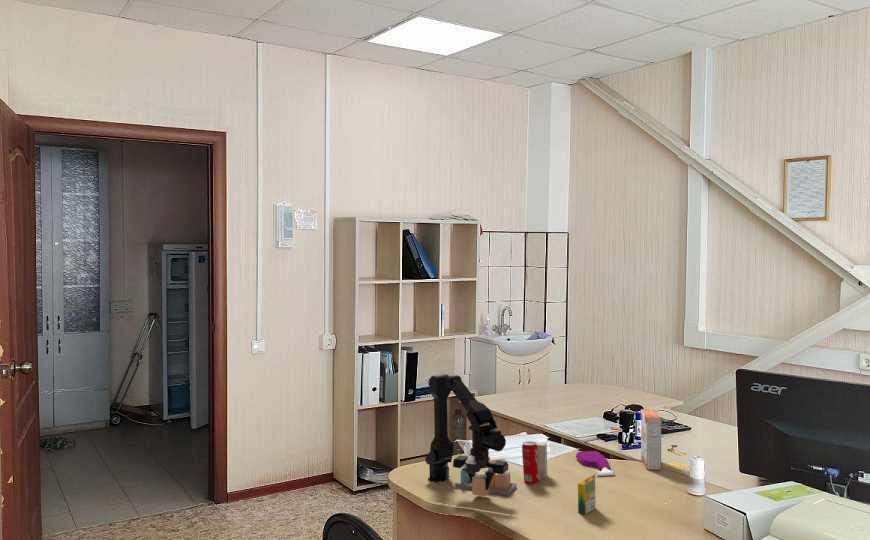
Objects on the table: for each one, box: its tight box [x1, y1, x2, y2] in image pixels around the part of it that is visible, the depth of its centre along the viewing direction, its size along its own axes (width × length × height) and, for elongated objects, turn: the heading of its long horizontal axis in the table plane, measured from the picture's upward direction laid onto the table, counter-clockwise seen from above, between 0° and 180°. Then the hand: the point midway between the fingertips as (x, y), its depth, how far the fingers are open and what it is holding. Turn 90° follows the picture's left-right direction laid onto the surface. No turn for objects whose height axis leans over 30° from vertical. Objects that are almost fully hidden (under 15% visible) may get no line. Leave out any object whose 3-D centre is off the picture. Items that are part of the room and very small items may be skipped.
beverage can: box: [521, 441, 541, 486], centre depth 257 cm, size 6×6×15 cm
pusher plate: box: [460, 467, 470, 484], centre depth 255 cm, size 1×6×6 cm, turn 154°
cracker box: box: [640, 408, 662, 471], centre depth 277 cm, size 14×6×21 cm, turn 172°
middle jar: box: [482, 468, 496, 488], centre depth 250 cm, size 4×4×7 cm
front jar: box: [494, 470, 511, 490], centre depth 248 cm, size 4×4×7 cm
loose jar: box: [471, 471, 490, 497], centre depth 241 cm, size 4×4×7 cm
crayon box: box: [577, 473, 597, 516], centre depth 230 cm, size 7×3×12 cm, turn 141°
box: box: [535, 441, 548, 479], centre depth 264 cm, size 5×4×13 cm
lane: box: [454, 480, 517, 496], centre depth 251 cm, size 20×9×2 cm, turn 64°
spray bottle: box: [575, 450, 616, 477], centre depth 276 cm, size 3×11×25 cm
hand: (480, 488), depth 241 cm, fingers closed on loose jar, 4 cm apart
